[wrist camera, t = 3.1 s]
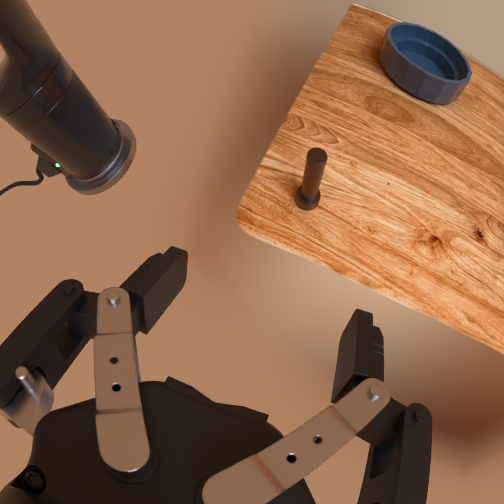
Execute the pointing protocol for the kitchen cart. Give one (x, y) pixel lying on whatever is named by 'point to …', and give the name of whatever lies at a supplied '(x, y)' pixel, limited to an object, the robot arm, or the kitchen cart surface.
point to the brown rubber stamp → (311, 179)
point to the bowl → (424, 63)
